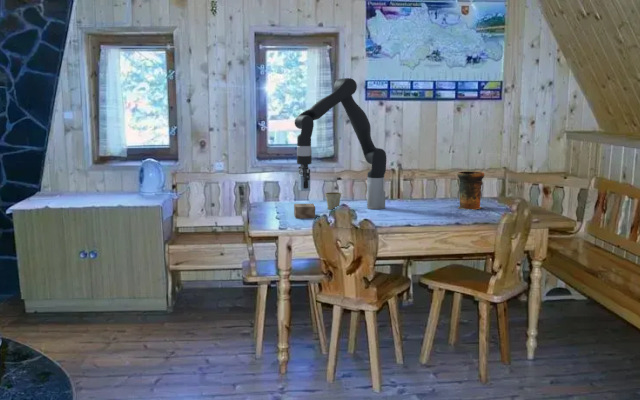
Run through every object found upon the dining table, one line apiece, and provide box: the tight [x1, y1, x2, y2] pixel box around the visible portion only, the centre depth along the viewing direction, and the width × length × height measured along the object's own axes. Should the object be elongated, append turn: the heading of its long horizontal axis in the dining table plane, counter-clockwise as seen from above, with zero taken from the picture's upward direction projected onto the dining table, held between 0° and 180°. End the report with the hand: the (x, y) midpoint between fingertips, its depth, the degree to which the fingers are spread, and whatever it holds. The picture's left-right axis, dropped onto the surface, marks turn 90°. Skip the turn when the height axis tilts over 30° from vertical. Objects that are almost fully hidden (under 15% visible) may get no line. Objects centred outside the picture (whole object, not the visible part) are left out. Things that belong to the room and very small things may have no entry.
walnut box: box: [293, 203, 316, 219], centre depth 330 cm, size 10×10×6 cm
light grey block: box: [297, 174, 311, 192], centre depth 328 cm, size 5×5×8 cm
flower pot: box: [324, 191, 343, 210], centre depth 352 cm, size 9×9×9 cm
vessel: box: [457, 170, 485, 211], centre depth 353 cm, size 14×14×20 cm
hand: (304, 187), depth 328 cm, fingers closed on light grey block, 5 cm apart
